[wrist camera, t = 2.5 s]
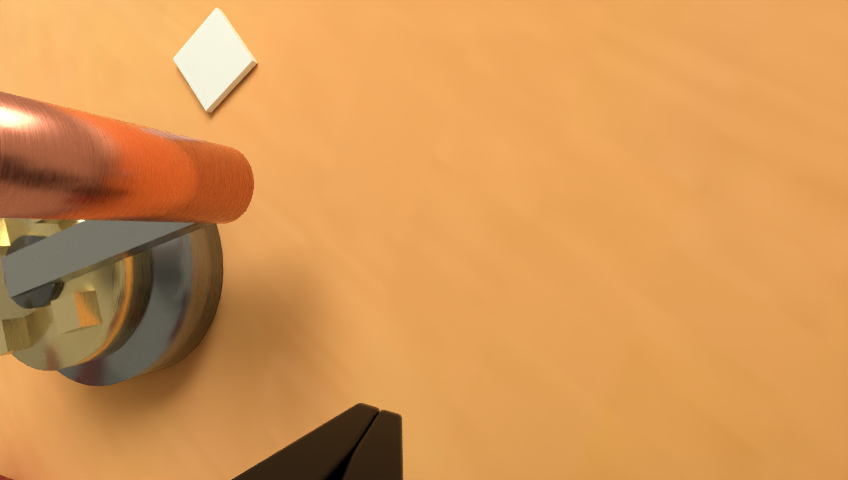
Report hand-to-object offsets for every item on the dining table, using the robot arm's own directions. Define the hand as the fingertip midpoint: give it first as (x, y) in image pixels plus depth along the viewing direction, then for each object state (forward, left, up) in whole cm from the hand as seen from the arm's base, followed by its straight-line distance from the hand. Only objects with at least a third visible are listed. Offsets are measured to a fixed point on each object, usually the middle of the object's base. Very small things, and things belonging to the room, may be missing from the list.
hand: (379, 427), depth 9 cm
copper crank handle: (+5, +17, -9) cm, 20 cm away
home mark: (+15, +14, -13) cm, 24 cm away
